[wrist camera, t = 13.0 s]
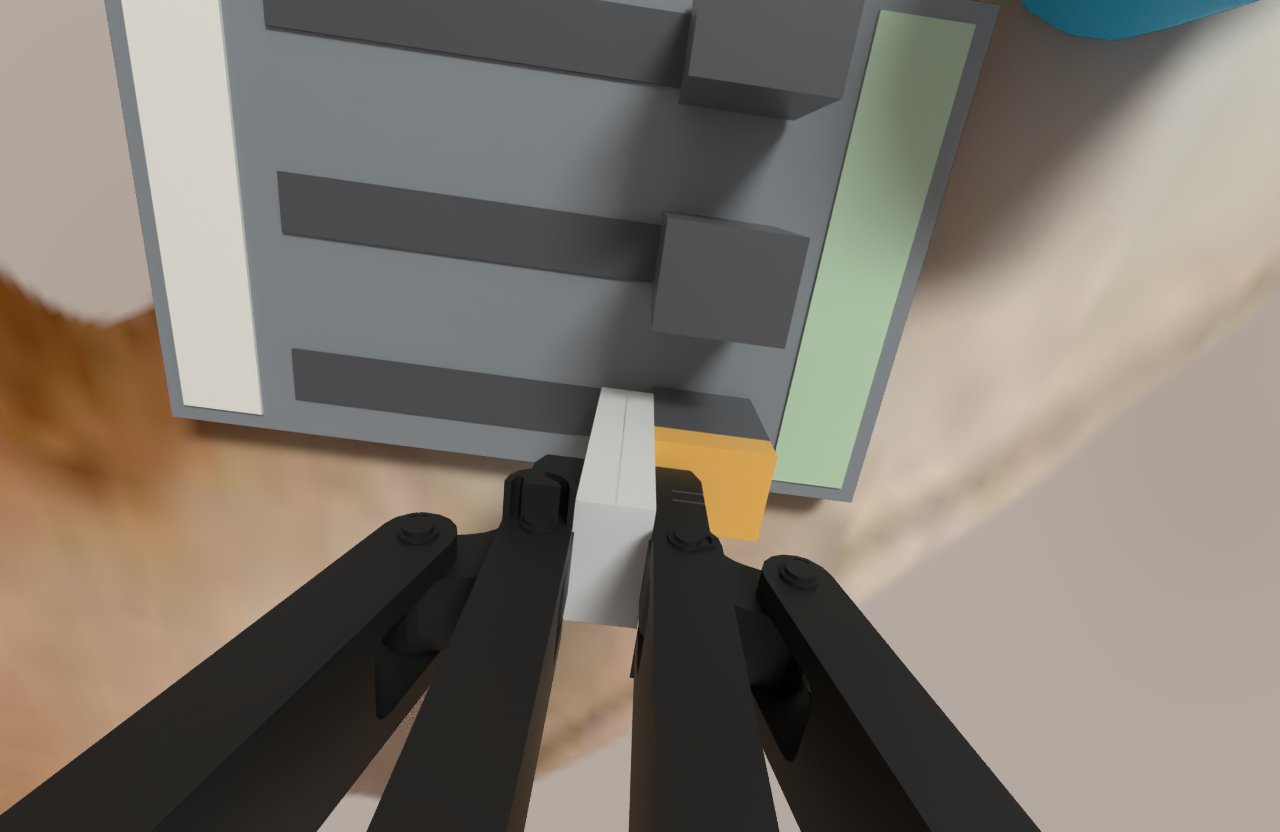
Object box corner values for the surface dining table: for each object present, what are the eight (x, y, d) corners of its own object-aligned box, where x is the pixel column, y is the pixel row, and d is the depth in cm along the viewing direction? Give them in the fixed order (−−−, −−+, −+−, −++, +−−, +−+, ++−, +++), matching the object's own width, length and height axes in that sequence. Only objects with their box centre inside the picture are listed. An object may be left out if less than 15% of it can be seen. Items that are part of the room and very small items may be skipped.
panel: (205, 400, 20) (170, 417, 19) (133, -111, 15) (77, -144, 14) (837, 481, 21) (852, 503, 19) (970, 20, 16) (1002, 4, 14)
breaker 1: (678, 103, 15) (688, 75, 11) (694, -8, 14) (711, -79, 10) (793, 120, 15) (842, 98, 11) (816, 11, 14) (876, -52, 11)
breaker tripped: (641, 457, 19) (639, 526, 15) (652, 385, 18) (653, 440, 14) (735, 469, 19) (757, 541, 15) (750, 399, 18) (777, 456, 14)
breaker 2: (650, 298, 17) (651, 330, 13) (663, 210, 16) (668, 217, 12) (754, 312, 17) (784, 349, 13) (771, 226, 16) (810, 237, 12)
